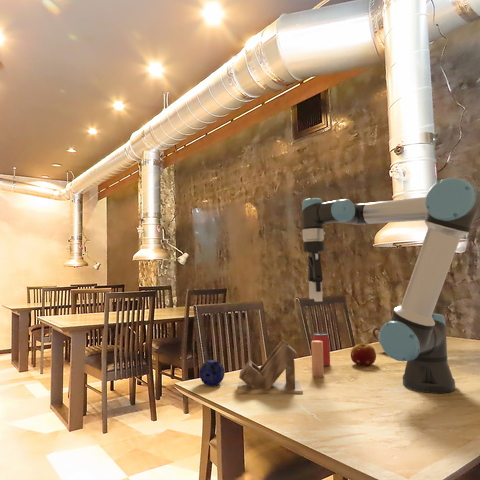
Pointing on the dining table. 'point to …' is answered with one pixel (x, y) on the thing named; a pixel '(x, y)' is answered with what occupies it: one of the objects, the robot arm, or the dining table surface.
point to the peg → (317, 359)
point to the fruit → (363, 354)
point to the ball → (211, 372)
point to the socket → (271, 374)
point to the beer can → (324, 346)
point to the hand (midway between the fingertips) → (315, 300)
